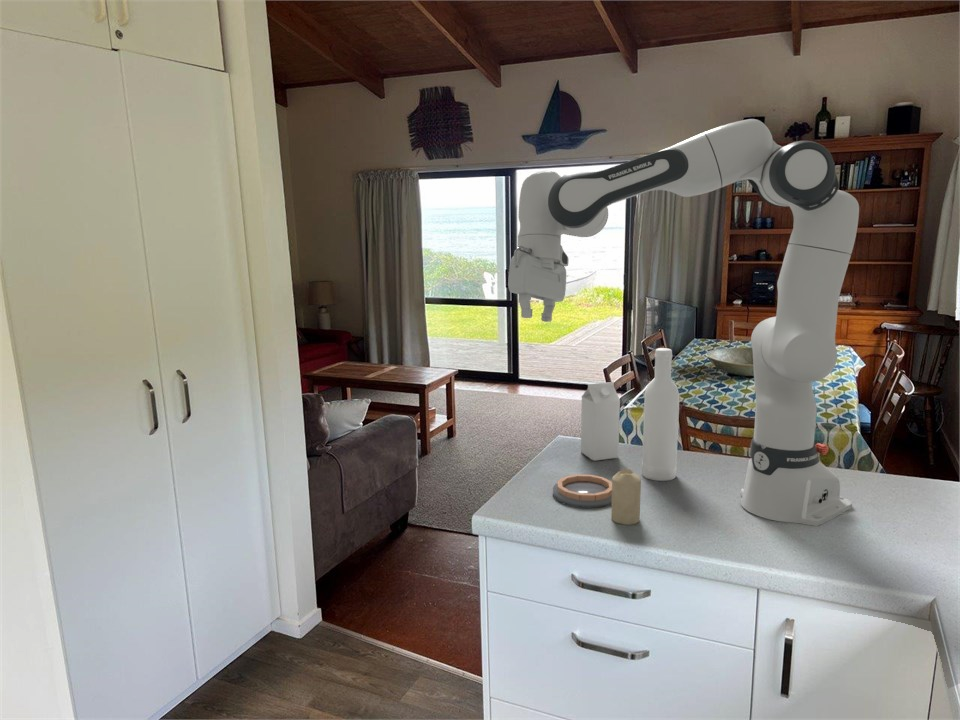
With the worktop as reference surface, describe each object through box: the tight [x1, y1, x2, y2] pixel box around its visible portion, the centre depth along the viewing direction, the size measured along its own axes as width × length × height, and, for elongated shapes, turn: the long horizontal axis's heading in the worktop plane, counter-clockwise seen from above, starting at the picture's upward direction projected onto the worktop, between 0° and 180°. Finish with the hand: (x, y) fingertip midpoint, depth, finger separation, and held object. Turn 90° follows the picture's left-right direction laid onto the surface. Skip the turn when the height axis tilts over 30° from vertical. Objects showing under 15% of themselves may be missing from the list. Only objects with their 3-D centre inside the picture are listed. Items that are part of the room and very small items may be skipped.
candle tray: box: [552, 474, 612, 509], centre depth 144 cm, size 14×14×2 cm
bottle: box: [641, 347, 680, 482], centre depth 153 cm, size 8×8×30 cm
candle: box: [610, 468, 642, 526], centre depth 131 cm, size 6×6×10 cm
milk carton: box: [580, 381, 621, 461], centre depth 168 cm, size 7×7×19 cm
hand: (536, 319), depth 136 cm, fingers open, 8 cm apart
